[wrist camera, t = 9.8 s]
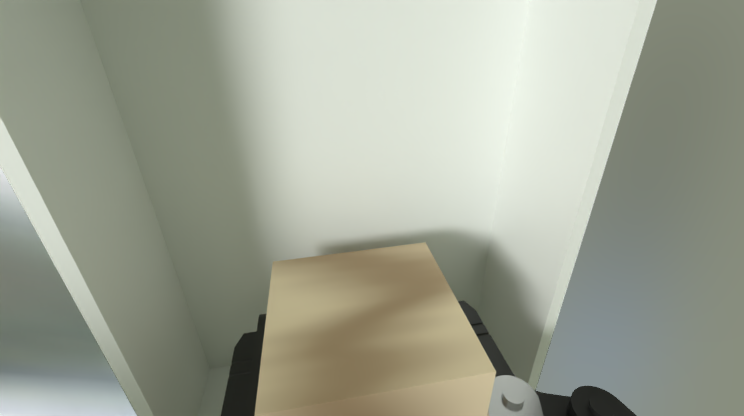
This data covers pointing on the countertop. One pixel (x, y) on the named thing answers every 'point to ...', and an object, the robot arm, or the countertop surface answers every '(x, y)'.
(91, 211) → the grey tote
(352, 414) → the beech cube
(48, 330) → the countertop surface
